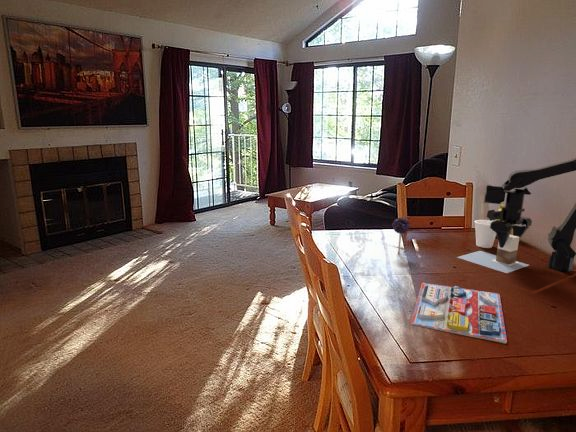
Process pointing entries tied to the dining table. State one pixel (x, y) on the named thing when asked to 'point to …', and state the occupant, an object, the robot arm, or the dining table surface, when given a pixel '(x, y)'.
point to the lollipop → (400, 228)
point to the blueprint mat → (491, 261)
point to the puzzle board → (460, 312)
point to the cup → (484, 233)
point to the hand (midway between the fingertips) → (508, 245)
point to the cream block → (510, 244)
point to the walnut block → (506, 256)
